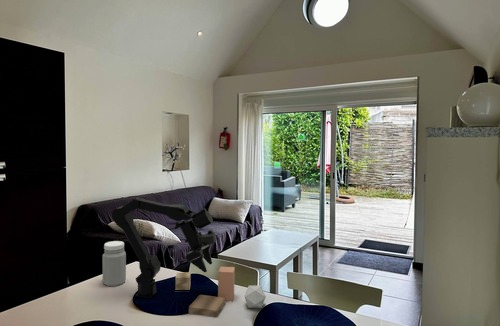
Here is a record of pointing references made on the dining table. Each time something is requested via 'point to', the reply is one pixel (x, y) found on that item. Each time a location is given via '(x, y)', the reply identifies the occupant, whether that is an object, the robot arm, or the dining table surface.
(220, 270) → the pillar
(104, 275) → the jar
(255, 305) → the die
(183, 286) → the oak cube
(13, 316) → the dining table surface
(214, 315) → the slab
